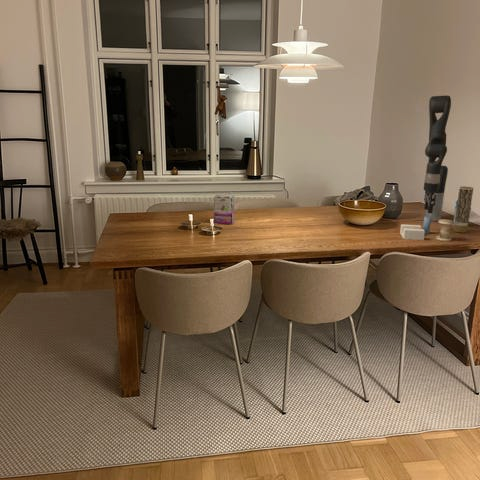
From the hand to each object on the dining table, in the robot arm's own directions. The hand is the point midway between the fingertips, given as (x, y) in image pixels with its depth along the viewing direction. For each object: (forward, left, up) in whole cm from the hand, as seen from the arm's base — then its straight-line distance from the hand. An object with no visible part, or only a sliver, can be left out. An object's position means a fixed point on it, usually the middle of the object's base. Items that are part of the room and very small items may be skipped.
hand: (428, 211), depth 258 cm
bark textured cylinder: (-21, +24, -13) cm, 35 cm away
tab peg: (0, 0, -13) cm, 13 cm away
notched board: (+8, -9, -13) cm, 17 cm away
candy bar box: (-2, -114, -13) cm, 115 cm away
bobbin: (+10, +7, -13) cm, 18 cm away
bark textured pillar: (-7, +20, -13) cm, 25 cm away
